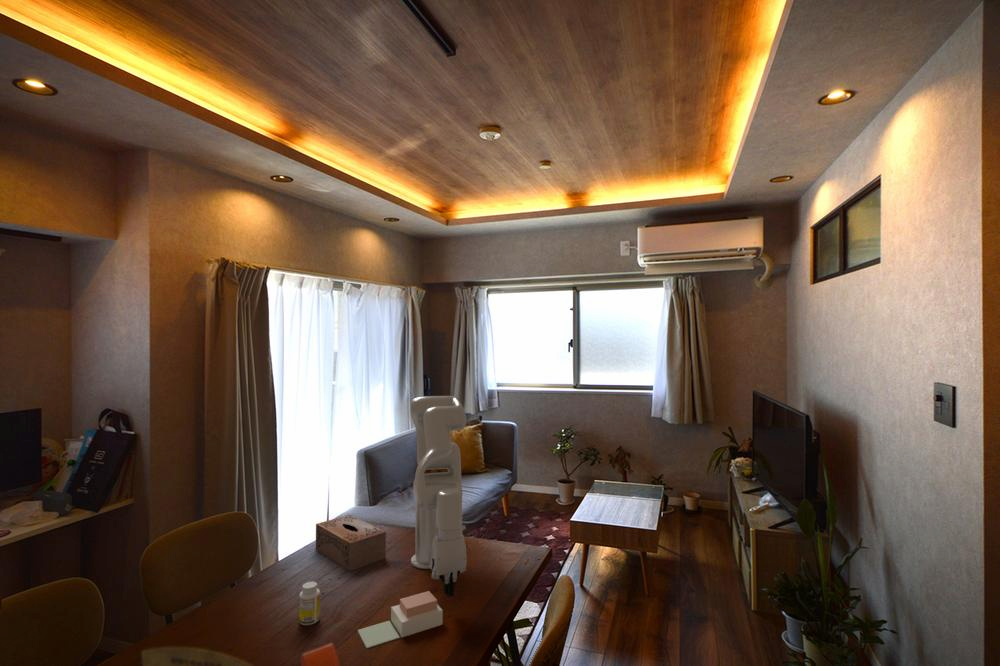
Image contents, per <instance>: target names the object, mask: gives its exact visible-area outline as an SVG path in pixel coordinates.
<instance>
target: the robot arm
mask: <svg viewBox="0 0 1000 666" xmlns="http://www.w3.org/2000/svg"><path fill="white" fill-rule="evenodd" d="M409 409H410V415H411V420H412V423H413V424H414V428H415V432H416V461H417V462H416V463H417V466H416V470H415V475H414V480H413V484H412V485H413V486H412V487H413V494H414V503H415V554H413V556H411V559H410V563H411V565H412V566H413V567H415V568H418V569H422V570H423V569H424V570H425V569H427V570H428V569H429V570H431V572H432V573H431V578H432V579H433V580H441V581H442V584H443V585H442V591H443V592H442V593H443V594H444V595H445V596H446V597H447V598H451V597H454V596H455V595H454V594H455V591H456V589H455V588H456V585H455V584H456V582H457V579H458V577H459V576H460V574H462V573H464V572H465V571H467V560H468V559H467V548H466V540H465V536H464V534H463V531H465V530H466V529H467V527H466V525H465V524H463V487H462V459H461V457H462V456H461V449H460V447H459V445H458V444H457V443H456V442H454V441H452V436H451V431H462V430H464V429H465V427H466V425H467V414H466V411H465V409H464V406H463V405H462V403H461V402H460V400H459V398H458V397H457V396H455V395H430V396H428V395H427V396H419V397H415V398H413V399H412V400H411V401H410V408H409ZM441 469H442V470H443V469H446V470H447V471H445V472H443V471H442V472H431V473H425V472H426V471H427V470H428V471H429V470H441Z"/></svg>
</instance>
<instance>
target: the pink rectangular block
mask: <svg viewBox="0 0 1000 666" xmlns="http://www.w3.org/2000/svg"><path fill="white" fill-rule="evenodd" d="M437 604H438V599H437V598H436V597H435V595H433V594H432V593H431V592H430V590H427V591H423V592H420V593H416V594H413V595H410V596H405V597H402V598H399V605H400V609H401V610H402V612H403V613H404V614H405V616H406V617H407V618H408V617H411V616H414V615H418V614H421V613H424V612H428V611H431V610H434V609H437Z"/></svg>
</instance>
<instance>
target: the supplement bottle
mask: <svg viewBox="0 0 1000 666" xmlns="http://www.w3.org/2000/svg"><path fill="white" fill-rule="evenodd" d="M301 587H302V588H301V591H300V592H299V597H298V600H299V603H298V604H299V606H298V607H299V611H298V614H299V617H298V618H299V620H298V621H299V623H300V624H301V625H303V626H311V625H314V624H317V623H318V622H319V620H320V618H321V591H320V589H319V588H318V583H317V581H308V582H305V583H304V584H302V586H301Z"/></svg>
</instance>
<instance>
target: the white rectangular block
mask: <svg viewBox="0 0 1000 666" xmlns="http://www.w3.org/2000/svg"><path fill="white" fill-rule="evenodd" d="M443 616H444V615H443V609H442V608H441V606H440V605H439V604H438V603H437V609H434V610H431V611H428V612H424V613H421V614H418V615H414V616H411V617H408V618H407V617H406V616H405V614H404V613H403V612H402V610H401V609H400V604H397V605H394V606H390V622H391V624H392V625H393V627H394V629H395V630H396V632H397V633H398V635H399V636H400V638H404V637H408V636H411V635H414V634H417V633H420V632H423V631H426V630H429V629H433V628H436V627H440V626H441V625H443Z"/></svg>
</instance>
